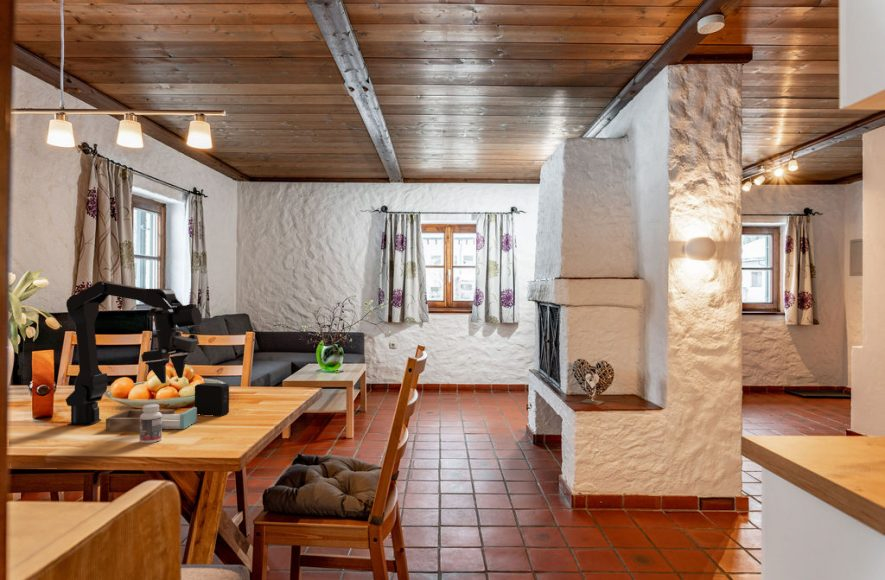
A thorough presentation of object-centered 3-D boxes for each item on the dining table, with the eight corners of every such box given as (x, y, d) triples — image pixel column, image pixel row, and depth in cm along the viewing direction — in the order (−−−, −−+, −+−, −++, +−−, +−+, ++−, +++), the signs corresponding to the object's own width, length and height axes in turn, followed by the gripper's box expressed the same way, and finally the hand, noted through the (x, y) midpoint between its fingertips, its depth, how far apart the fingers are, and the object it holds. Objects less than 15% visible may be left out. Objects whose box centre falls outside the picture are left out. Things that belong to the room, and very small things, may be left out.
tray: (138, 429, 161) (138, 414, 161) (153, 421, 170) (153, 407, 170) (184, 429, 162) (184, 414, 162) (196, 421, 171) (196, 407, 171)
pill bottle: (135, 442, 149) (135, 406, 149) (152, 437, 154) (152, 402, 154) (149, 444, 147) (149, 408, 147) (166, 439, 152) (166, 404, 152)
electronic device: (221, 416, 178) (221, 386, 178) (194, 414, 180) (194, 384, 180) (229, 413, 182) (229, 383, 182) (202, 412, 184) (202, 382, 184)
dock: (105, 431, 159) (105, 418, 159) (127, 421, 171) (127, 409, 171) (156, 431, 160) (156, 418, 160) (174, 421, 172) (174, 409, 172)
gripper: (174, 328, 156) (181, 383, 156) (206, 324, 175) (212, 372, 175) (137, 333, 157) (144, 387, 157) (173, 328, 175) (179, 376, 176)
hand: (172, 380), depth 166 cm, fingers open, 9 cm apart
